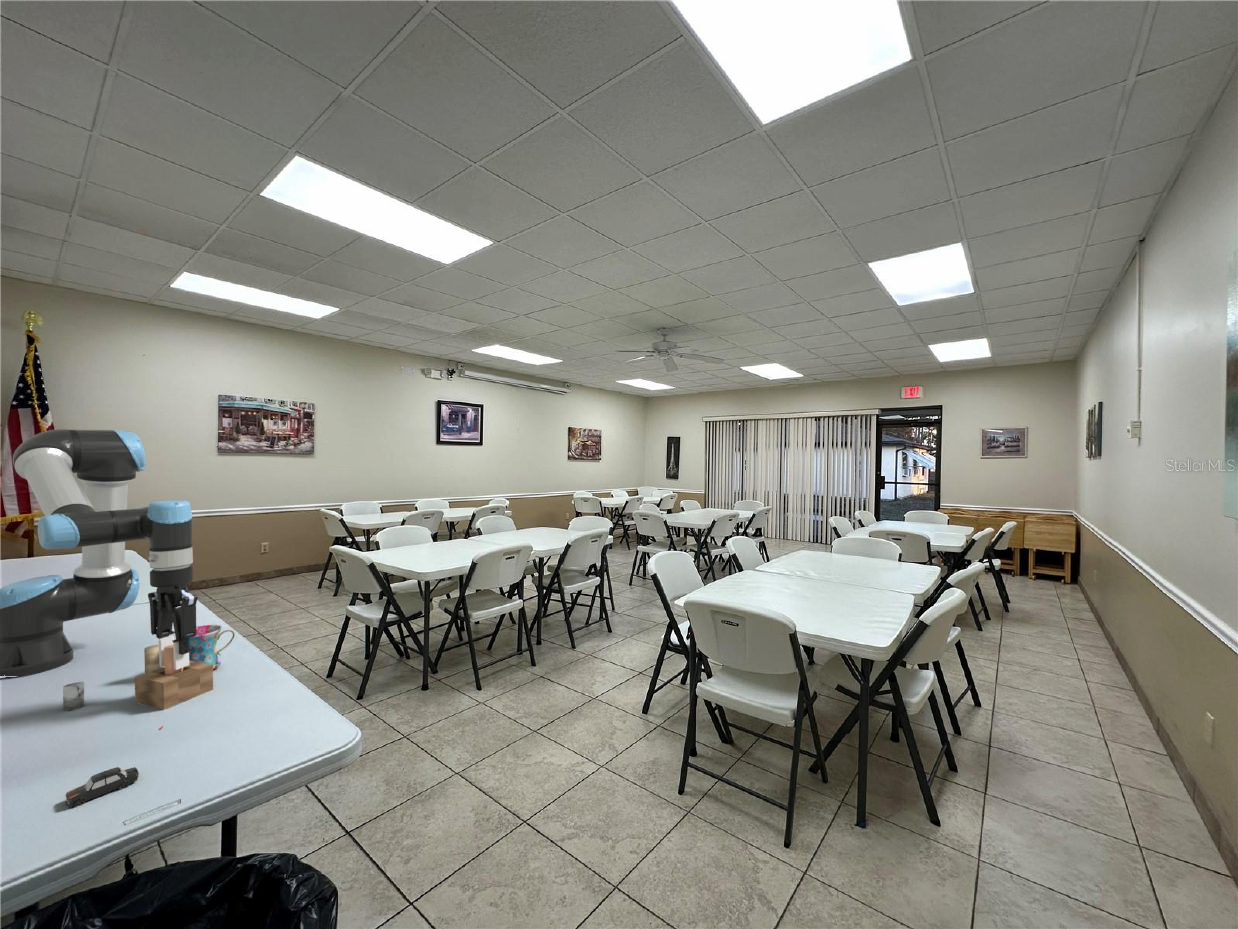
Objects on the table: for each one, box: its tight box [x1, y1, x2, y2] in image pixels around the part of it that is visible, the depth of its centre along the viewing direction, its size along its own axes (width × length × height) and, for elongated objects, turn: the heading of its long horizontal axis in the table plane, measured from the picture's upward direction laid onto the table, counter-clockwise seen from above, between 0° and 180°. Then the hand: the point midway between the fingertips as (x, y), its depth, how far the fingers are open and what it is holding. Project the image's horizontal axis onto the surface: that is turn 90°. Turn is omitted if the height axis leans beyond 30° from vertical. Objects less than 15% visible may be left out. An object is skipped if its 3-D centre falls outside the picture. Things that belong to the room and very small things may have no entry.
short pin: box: [62, 681, 85, 712], centre depth 112 cm, size 3×3×5 cm
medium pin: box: [143, 644, 162, 674], centre depth 126 cm, size 3×3×8 cm
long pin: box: [164, 645, 183, 676], centre depth 117 cm, size 3×3×12 cm
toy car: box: [65, 725, 164, 809], centre depth 85 cm, size 4×12×8 cm, turn 143°
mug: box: [189, 624, 236, 670], centre depth 131 cm, size 12×9×11 cm
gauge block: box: [134, 660, 214, 710], centre depth 117 cm, size 10×10×6 cm
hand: (174, 665), depth 117 cm, fingers open, 4 cm apart
